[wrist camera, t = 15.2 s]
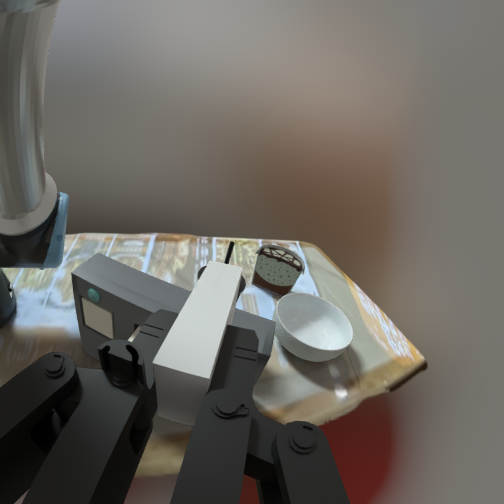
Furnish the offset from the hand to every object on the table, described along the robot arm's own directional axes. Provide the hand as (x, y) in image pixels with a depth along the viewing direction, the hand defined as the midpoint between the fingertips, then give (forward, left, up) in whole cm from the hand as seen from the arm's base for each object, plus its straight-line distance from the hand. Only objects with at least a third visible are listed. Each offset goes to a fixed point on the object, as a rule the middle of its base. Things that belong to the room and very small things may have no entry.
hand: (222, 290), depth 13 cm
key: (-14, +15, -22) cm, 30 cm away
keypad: (-5, +14, -30) cm, 33 cm away
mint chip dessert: (+15, +48, -30) cm, 59 cm away
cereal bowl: (+21, +29, -30) cm, 47 cm away
